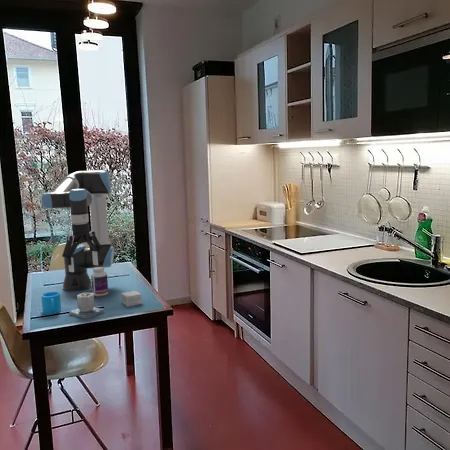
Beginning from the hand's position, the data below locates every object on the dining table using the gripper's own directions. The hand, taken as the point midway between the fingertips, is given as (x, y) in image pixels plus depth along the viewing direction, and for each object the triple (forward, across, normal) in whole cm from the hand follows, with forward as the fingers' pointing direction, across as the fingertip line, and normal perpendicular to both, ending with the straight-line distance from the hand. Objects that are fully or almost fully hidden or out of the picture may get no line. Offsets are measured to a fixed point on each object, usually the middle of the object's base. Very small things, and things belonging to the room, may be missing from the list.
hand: (83, 268), depth 210 cm
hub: (+17, -3, -4) cm, 18 cm away
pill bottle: (+21, +20, +14) cm, 32 cm away
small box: (+21, +18, -11) cm, 30 cm away
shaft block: (+20, -3, -4) cm, 21 cm away
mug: (+21, -10, +12) cm, 26 cm away
